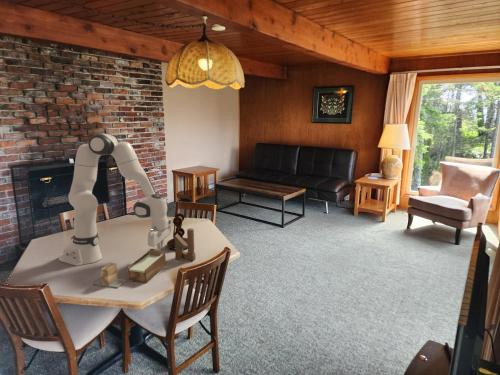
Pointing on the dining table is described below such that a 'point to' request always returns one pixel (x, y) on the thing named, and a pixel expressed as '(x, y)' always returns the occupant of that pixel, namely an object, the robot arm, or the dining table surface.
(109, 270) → the light wood block
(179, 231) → the dark brown ringed stand
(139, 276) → the wooden box
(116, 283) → the felt mat
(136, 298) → the dining table surface
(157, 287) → the dining table surface
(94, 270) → the dining table surface
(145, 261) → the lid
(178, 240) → the wooden stand
